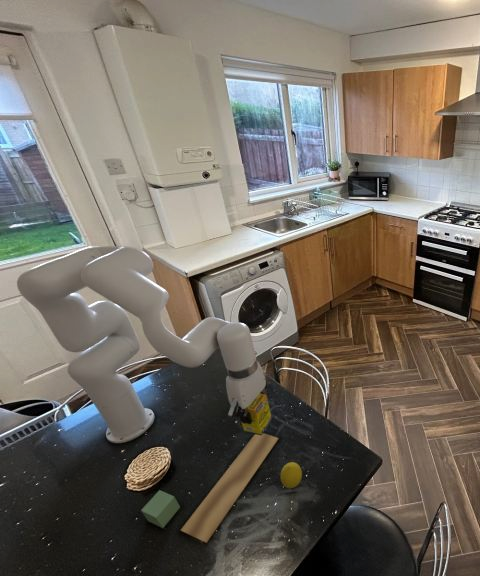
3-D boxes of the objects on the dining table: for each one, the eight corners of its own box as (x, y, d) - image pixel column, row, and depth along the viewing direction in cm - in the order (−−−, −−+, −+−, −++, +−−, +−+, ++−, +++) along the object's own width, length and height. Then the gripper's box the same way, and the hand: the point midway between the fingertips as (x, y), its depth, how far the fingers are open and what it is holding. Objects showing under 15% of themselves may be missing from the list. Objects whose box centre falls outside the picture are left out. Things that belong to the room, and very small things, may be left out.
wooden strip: (180, 530, 76) (180, 530, 76) (257, 431, 100) (257, 431, 100) (206, 543, 74) (206, 542, 74) (278, 438, 98) (278, 438, 98)
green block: (147, 521, 78) (140, 510, 75) (165, 500, 82) (159, 490, 79) (163, 528, 76) (156, 517, 74) (180, 507, 81) (174, 496, 78)
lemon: (285, 498, 83) (281, 480, 79) (281, 479, 87) (276, 462, 83) (305, 488, 85) (302, 471, 81) (300, 470, 89) (297, 453, 86)
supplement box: (262, 436, 90) (255, 410, 85) (243, 432, 91) (235, 406, 86) (272, 419, 95) (266, 394, 90) (255, 415, 96) (248, 390, 91)
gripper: (252, 343, 90) (263, 387, 99) (205, 386, 76) (222, 433, 84) (274, 349, 88) (283, 393, 97) (230, 394, 74) (245, 441, 82)
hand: (254, 412), depth 90 cm, fingers closed on supplement box, 6 cm apart
